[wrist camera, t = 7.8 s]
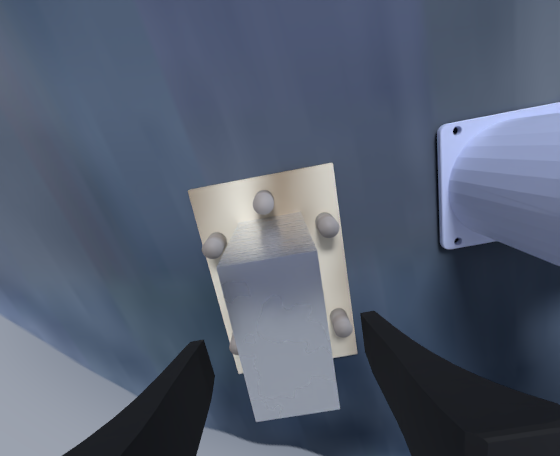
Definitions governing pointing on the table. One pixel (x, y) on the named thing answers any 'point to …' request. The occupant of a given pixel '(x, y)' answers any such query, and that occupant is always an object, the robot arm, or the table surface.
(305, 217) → the birch pin tray
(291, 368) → the block
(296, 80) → the table surface
